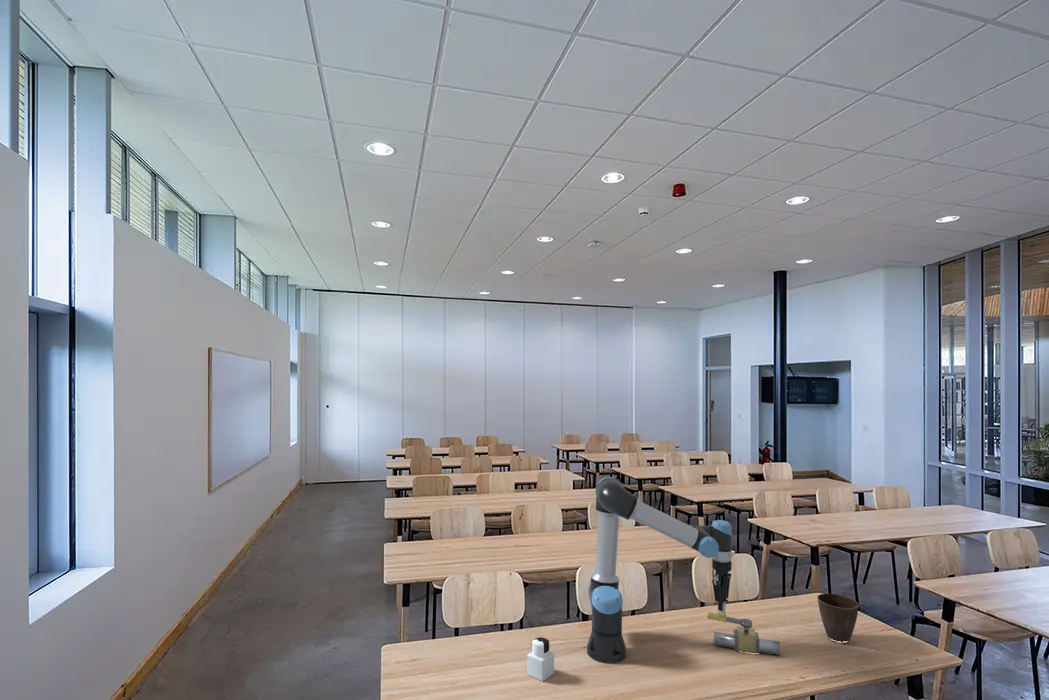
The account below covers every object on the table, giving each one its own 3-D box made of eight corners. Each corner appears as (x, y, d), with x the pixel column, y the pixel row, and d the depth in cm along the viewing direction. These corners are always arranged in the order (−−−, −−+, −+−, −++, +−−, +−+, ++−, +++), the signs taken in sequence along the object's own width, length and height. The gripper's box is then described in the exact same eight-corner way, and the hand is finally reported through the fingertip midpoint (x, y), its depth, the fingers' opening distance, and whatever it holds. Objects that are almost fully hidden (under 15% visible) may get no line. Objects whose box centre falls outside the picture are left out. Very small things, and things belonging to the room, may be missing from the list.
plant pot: (859, 652, 215) (858, 611, 216) (816, 642, 223) (816, 602, 224) (859, 637, 228) (858, 598, 229) (818, 628, 236) (818, 590, 236)
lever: (752, 624, 217) (752, 620, 217) (751, 628, 213) (751, 624, 213) (709, 615, 225) (709, 611, 225) (707, 619, 221) (707, 615, 221)
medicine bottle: (538, 666, 200) (539, 633, 201) (554, 673, 196) (554, 639, 196) (526, 674, 195) (527, 640, 195) (542, 682, 190) (542, 646, 191)
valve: (714, 648, 216) (714, 624, 217) (714, 640, 223) (714, 617, 223) (780, 659, 209) (780, 634, 209) (778, 650, 215) (778, 627, 216)
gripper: (723, 566, 216) (723, 626, 216) (737, 558, 225) (737, 615, 225) (705, 561, 222) (705, 619, 221) (720, 553, 231) (719, 609, 230)
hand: (721, 617), depth 223 cm, fingers closed
